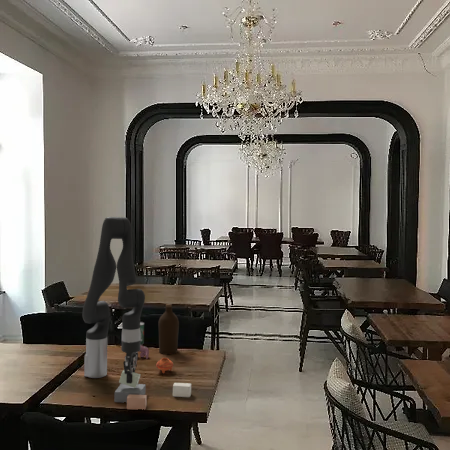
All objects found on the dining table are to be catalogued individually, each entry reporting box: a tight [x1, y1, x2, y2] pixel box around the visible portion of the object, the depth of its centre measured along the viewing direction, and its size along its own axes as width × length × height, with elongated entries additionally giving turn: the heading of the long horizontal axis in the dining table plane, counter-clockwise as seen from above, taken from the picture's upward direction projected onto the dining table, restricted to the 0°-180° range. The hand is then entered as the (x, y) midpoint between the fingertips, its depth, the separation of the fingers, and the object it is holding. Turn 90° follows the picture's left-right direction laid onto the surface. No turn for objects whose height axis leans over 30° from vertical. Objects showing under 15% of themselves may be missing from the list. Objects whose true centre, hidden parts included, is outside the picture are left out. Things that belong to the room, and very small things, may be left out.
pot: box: [155, 357, 174, 374], centre depth 246 cm, size 8×8×7 cm
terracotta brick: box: [126, 394, 148, 411], centre depth 204 cm, size 7×4×4 cm, turn 88°
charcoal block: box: [113, 383, 147, 404], centre depth 213 cm, size 10×10×4 cm
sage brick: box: [118, 369, 141, 388], centre depth 213 cm, size 7×4×4 cm, turn 85°
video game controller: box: [138, 345, 150, 360], centre depth 266 cm, size 10×5×7 cm, turn 93°
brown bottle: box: [157, 303, 180, 355], centre depth 276 cm, size 11×11×25 cm
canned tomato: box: [140, 321, 145, 346], centre depth 290 cm, size 8×8×11 cm
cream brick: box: [172, 382, 192, 398], centre depth 218 cm, size 7×4×4 cm, turn 85°
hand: (130, 381), depth 213 cm, fingers closed on sage brick, 3 cm apart
